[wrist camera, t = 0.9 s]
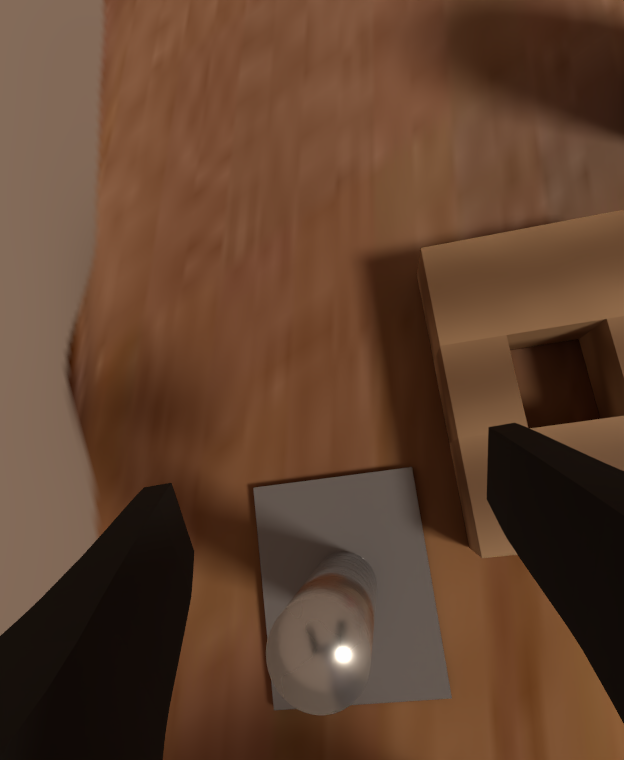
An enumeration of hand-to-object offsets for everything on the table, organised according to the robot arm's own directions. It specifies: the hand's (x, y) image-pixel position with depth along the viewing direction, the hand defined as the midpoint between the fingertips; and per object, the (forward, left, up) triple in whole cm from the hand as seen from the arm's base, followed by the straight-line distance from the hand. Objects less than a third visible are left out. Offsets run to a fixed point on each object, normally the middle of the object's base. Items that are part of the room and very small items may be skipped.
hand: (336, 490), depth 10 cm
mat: (-4, +2, -13) cm, 14 cm away
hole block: (+4, -9, -13) cm, 16 cm away
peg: (-4, +2, -13) cm, 13 cm away
